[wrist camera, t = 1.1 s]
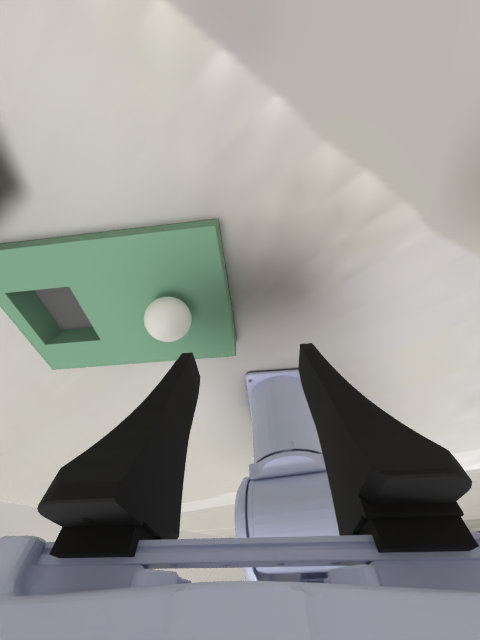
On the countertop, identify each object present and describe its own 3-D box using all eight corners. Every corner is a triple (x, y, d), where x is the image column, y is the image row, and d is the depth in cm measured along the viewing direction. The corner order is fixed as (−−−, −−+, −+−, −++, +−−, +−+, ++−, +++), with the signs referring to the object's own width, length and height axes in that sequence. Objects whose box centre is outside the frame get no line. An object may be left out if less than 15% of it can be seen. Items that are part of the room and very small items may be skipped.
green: (236, 339, 24) (235, 355, 22) (68, 353, 25) (52, 369, 23) (218, 218, 17) (215, 225, 15) (-11, 245, 18) (-43, 254, 16)
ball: (198, 322, 20) (191, 349, 17) (160, 326, 20) (146, 353, 17) (189, 286, 18) (179, 309, 15) (146, 290, 18) (128, 314, 15)
